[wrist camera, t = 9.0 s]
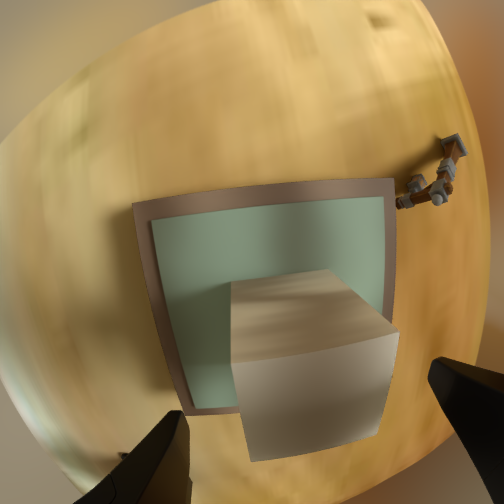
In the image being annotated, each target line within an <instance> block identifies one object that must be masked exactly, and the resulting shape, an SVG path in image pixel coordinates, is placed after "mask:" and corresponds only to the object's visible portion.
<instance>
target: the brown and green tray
mask: <svg viewBox="0 0 504 504" xmlns="http://www.w3.org/2000/svg"><path fill="white" fill-rule="evenodd" d="M132 206H133V214H134V221H135V227H136V233H137V239H138V245H139V251H140V256H141V262H142V267H143V272H144V276H145V281H146V286H147V290H148V295H149V299H150V303H151V307H152V311H153V315H154V319H155V323H156V327H157V330H158V334H159V338H160V341H161V345H162V348H163V352H164V355H165V358H166V361H167V365H168V368H169V371H170V374H171V377H172V380H173V383H174V386H175V389H176V392H177V395H178V397H179V400H180V403H181V406H182V408H183V411H184V414H185V416H199V415H219V414H232V413H240V409H239V404H238V399H237V394H236V389H235V384H234V379H233V373H232V368H231V281H238V280H247V279H255V278H263V277H271V276H279V275H287V274H294V273H302V272H309V271H317V270H324V269H329V270H330V271H331V272H332V273H333V274H335V275H336V276H337V277H338V278H339V279H340V280H342V281H343V282H344V283H345V284H346V285H347V286H349V287H350V288H351V289H352V290H353V291H354V292H356V293H357V294H358V295H359V296H360V297H361V298H363V299H364V300H365V301H366V302H367V303H368V304H369V305H371V306H372V307H373V308H374V309H375V310H376V311H377V312H379V313H380V314H381V315H382V316H383V317H384V318H385V319H387V320H388V321H389V322H390V323H391V324H392V315H393V305H394V292H395V275H396V203H395V186H394V178H362V179H337V180H319V181H304V182H291V183H279V184H268V185H257V186H248V187H239V188H230V189H222V190H214V191H206V192H199V193H192V194H185V195H178V196H172V197H166V198H160V199H154V200H148V201H142V202H137V203H132Z"/></svg>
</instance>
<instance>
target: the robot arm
mask: <svg viewBox="0 0 504 504" xmlns="http://www.w3.org/2000/svg"><path fill="white" fill-rule="evenodd" d="M428 382H429V384H430V386H431V388H432V390H433V392H434V394H435V396H436V398H437V400H438V402H439V404H440V406H441V408H442V410H443V412H444V414H445V415H446V417H447V418H448V420H449V422H450V423H451V425H452V427H453V428H454V430H455V432H456V433H457V435H458V437H459V438H460V440H461V442H462V443H463V445H464V447H465V448H466V450H467V452H468V454H469V456H470V458H471V459H472V461H473V463H474V465H475V467H476V468H477V470H478V472H479V474H480V476H481V478H482V480H483V482H484V484H485V486H486V488H487V490H488V492H489V494H490V496H491V499H492V501H493V503H494V504H504V374H501V373H497V372H494V371H490V370H487V369H483V368H480V367H476V366H473V365H469V364H466V363H462V362H459V361H456V360H452V359H449V358H446V357H438V358H436V359H434V360H433V361H432V363H431V366H430V370H429V373H428ZM121 458H122V461H121V462H120V463H119V464H118V465H117V466H116V467H115V468H114V469H113V470H112V471H111V472H110V474H108V475H107V476H106V477H105V478H104V479H103V480H102V481H101V482H100V483H99V484H97V485H96V486H95V487H94V488H93V489H92V490H90V491H89V492H88V493H87V494H85V495H84V496H83V497H81V498H80V499H79V500H77V501H76V502H74V503H73V504H191V494H192V481H191V479H190V477H189V469H190V430H189V425H188V423H187V420H186V418H185V415H184V413H183V411H181V410H171V411H169V412H168V413H167V414H166V415H165V416H164V417H163V418H162V420H161V421H160V422H159V423H158V424H157V425H156V426H155V427H154V428H153V429H152V430H151V431H150V432H149V433H148V434H147V436H146V437H145V438H144V439H143V440H142V441H141V442H140V443H139V444H138V445H137V446H136V447H135V448H134V449H133V450H132V451H131V452H130V453H129V454H122V456H121Z"/></svg>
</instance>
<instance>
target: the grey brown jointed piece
mask: <svg viewBox="0 0 504 504" xmlns="http://www.w3.org/2000/svg"><path fill="white" fill-rule="evenodd" d="M441 144H442V146H443V148H444V149H445V153H444V159H443V160H442V161H440V166H439V167H438V170H437V172H436V173H437V175H438V176H437V180H436V181H434V182H433V183H432V184H430V185H429V186H427V187H426V188H424V187H425V185H427V182H426V181H425V178H424V176H423V175H422V174H418V175H415V176H413V178H412V180H411V182H410V183H407V186H408V188H409V190H408V191H409V192H410V193H407V194H404V195H403V197H402V196H401V197H399V198H396V200H395V203H396V207H397V209H398V210H399V209H401V208H402V209H403V208H406V209H407V208H411V207H414V206H415V205H416V204H419V203H423V202H426V201H430V200H432V203H433V204H434V205H436V206H439V205H441V204H442V203H446V202H448V196H449V195H450V194H452V191H453V187H452V185H451V182H452V181H454V177H455V171H456V167H455V165H456V163H457V161H458V159H459V157H462V156H466V155H467V154H468V152H467V150H466V148H465V146H464V144H463V142H462V140H461V138H460V137H459V135H458V133H457V134H454V135H452V136H449V137H447V138H444V139H442V141H441ZM423 188H424V189H423Z"/></svg>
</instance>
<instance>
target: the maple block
mask: <svg viewBox="0 0 504 504" xmlns="http://www.w3.org/2000/svg"><path fill="white" fill-rule="evenodd" d="M399 334H400V331H399V330H398V329H397V328H395V327H394V326H393V325H392V324H391V323H390V322H389V321H388V320H387V319H385V318H384V317H383V316H382V315H381V314H380V313H379V312H377V311H376V310H375V309H374V308H373V307H372V306H371V305H369V304H368V303H367V302H366V301H365V300H364V299H363V298H361V297H360V296H359V295H358V294H357V293H356V292H354V291H353V290H352V289H351V288H350V287H349V286H347V285H346V284H345V283H344V282H343V281H342V280H340V279H339V278H338V277H337V276H336V275H335V274H333V273H332V272H331V271H330V270H329V269H324V270H317V271H309V272H302V273H294V274H287V275H279V276H271V277H263V278H255V279H247V280H238V281H231V368H232V373H233V379H234V384H235V389H236V394H237V399H238V404H239V409H240V414H241V419H242V424H243V428H244V433H245V438H246V442H247V447H248V451H249V456H250V460H251V462H255V461H264V460H272V459H279V458H285V457H291V456H297V455H302V454H307V453H312V452H316V451H321V450H325V449H329V448H333V447H337V446H341V445H344V444H348V443H351V442H355V441H358V440H361V439H364V438H367V437H370V436H373V435H376V434H377V431H378V428H379V425H380V421H381V418H382V414H383V411H384V407H385V403H386V399H387V395H388V391H389V387H390V383H391V378H392V373H393V368H394V363H395V358H396V353H397V347H398V341H399Z"/></svg>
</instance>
